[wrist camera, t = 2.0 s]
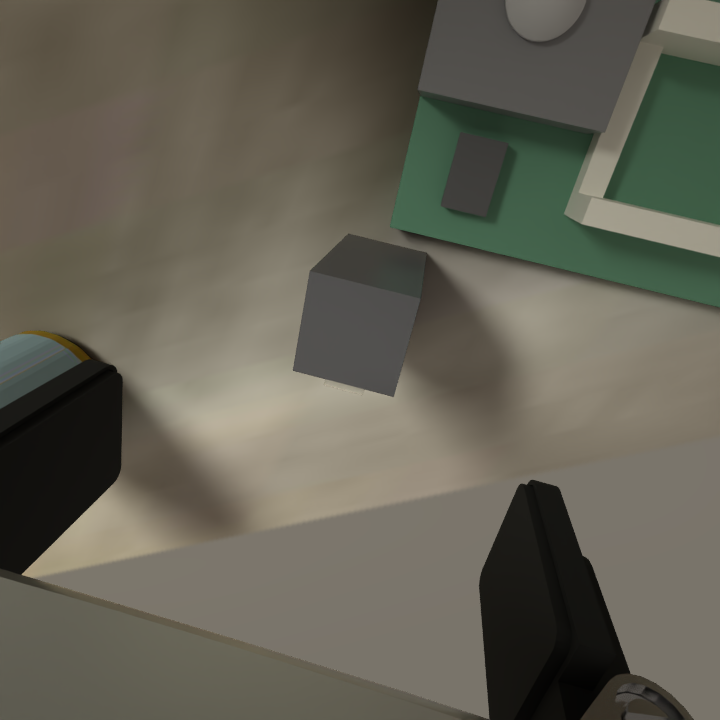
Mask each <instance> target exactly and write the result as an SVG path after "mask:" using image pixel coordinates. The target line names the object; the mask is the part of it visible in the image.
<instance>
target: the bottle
mask: <svg viewBox="0 0 720 720" xmlns="http://www.w3.org/2000/svg"><path fill="white" fill-rule="evenodd" d="M88 359H91V358H90V357H89V356H88V355H87V354H86V353H85V352H84V351H83V350H82V349H81V348H80V347H78V346H77V345H75V344H73V343H72V342H70V341H68V340H67V339H65V338H63V337H60V336H58V335H55V334H52V333H48V332H45V331H25V332H22V333H20V334H17V335H14V336H12V337H9V338H7V339H5V340H2V341H0V409H1V408H2V407H4V406H6V405H8V404H9V403H11V402H13V401H15V400H16V399H18V398H20V397H22V396H23V395H25V394H27V393H29V392H30V391H32V390H34V389H36V388H37V387H39V386H41V385H43V384H44V383H46V382H48V381H50V380H51V379H53V378H55V377H57V376H58V375H60V374H62V373H64V372H66V371H67V370H69V369H71V368H73V367H74V366H76V365H78V364H80V363H81V362H83V361H85V360H88ZM91 360H92V359H91Z"/></svg>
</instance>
